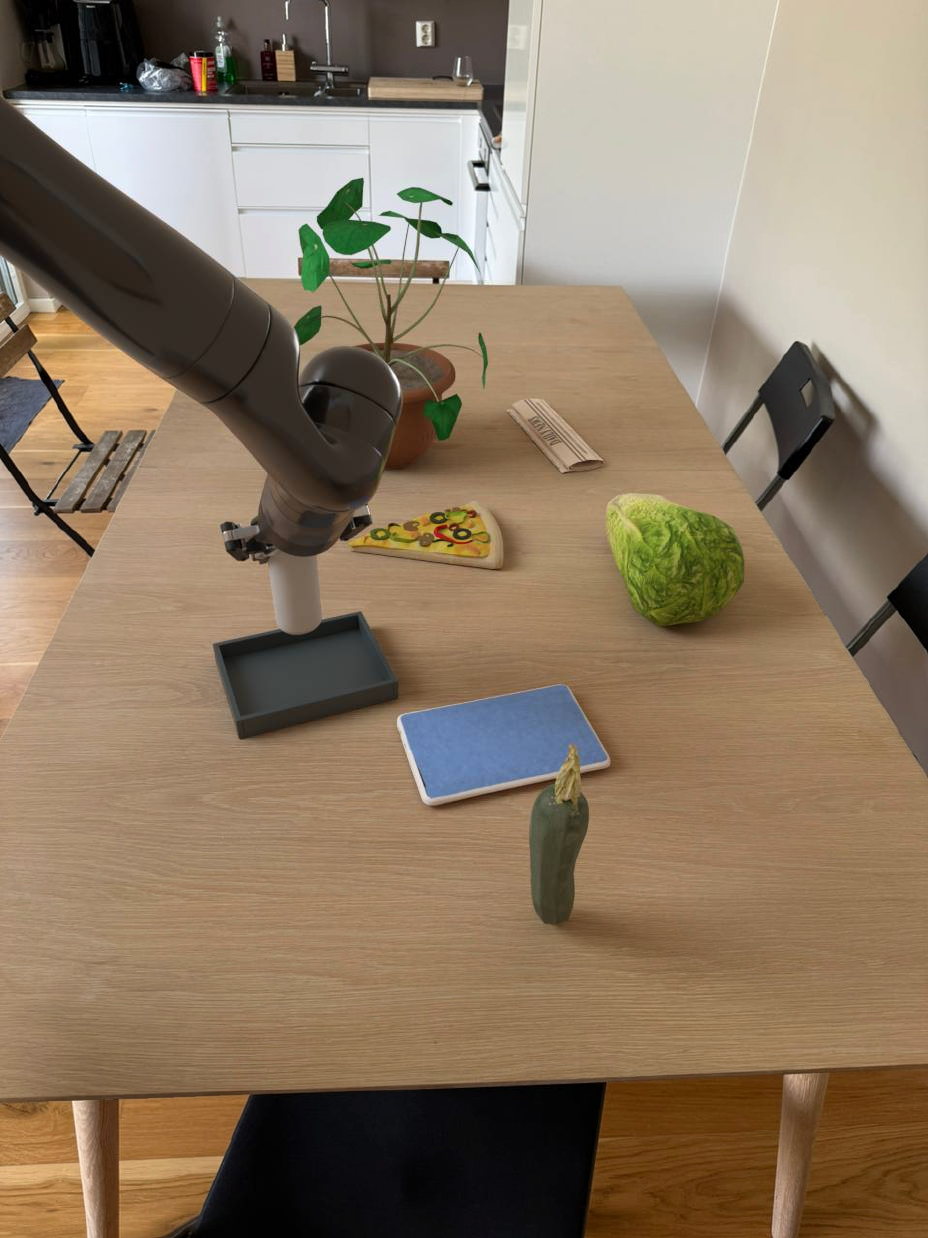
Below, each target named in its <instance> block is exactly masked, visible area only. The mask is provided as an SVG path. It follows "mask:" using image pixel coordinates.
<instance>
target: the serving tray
mask: <svg viewBox="0 0 928 1238" xmlns="http://www.w3.org/2000/svg"><path fill="white" fill-rule="evenodd" d="M212 649H213V653H214V659H215V663H216V667H217V670H218V674H219V676H220V680H221V684H222V686H223V690H224V694H225V697H226V700H227V705H228V708H229V711H230V714H231V717H232V721H233V724H234V727H235V730H236V734H237V737H238V739H239V740H241V739H244V738H249V737H252V736H257V735H260V734H264V733H268V732H272V731H276V730H279V729H284V728H288V727H291V726H295V725H299V724H303V723H307V722H312V721H315V720H319V719H323V718H326V717H330V716H335V715H338V714H342V713H347V712H350V711H354V710H358V709H362V708H367V707H369V706H373V705H378V704H381V703H386V702H389V701H393V700H397V699H399V698H400V697H399V696H400V695H399V680H398V679H397V678H398V677H397V676H396V674H395V673H394V670H393V669H392V667H391V665H390V663H389V661H388V659H387V657H386V655H385V652H383V650H382V647H381V646H380V644H379V641H378V639H377V638H376V636H375V634H374V632H373V630H372V629H371V627H370V625H369V622H368V621H367V619H366V617H365V616H364V613H363V612H362V611H361V610H359V611H355V612H351V613H346V614H341V615H336V616H332V617H328V618H324V619H323V618H322V621H321V623H320V624H319V626H318V627H317V628H315V629H314V630H313V631H311V632H308V633H305V634H301V635H292V634H288V633H285V632H284V631H282V630H281V629H280V628H278V629H273V630H268V631H264V632H260V633H255V634H250V635H246V636H241V637H236V638H232V639H228V640H223V641H219V642H213V643H212Z"/></svg>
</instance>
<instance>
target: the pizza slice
mask: <svg viewBox="0 0 928 1238" xmlns="http://www.w3.org/2000/svg"><path fill="white" fill-rule="evenodd" d="M347 544H348V546H349V549H350V552H358V553H366V554H374V555H381V556H389V557H396V558H402V559H409V560H410V559H411V560H418V561H426V562H427V561H428V562H434V563H435V562H437V563H443V564H450V565H459V566H467V567H475V568H481V569H482V568H483V569H490V570H499V569H501V568H502V567H503V564H504V540H503V536H502V532H501V529H500V526H499V524H498V522H497V520H496V519H495V517H494V516H493V515H492V513H491V512H490V511H489V510H488V509H487V508H486V507H485V505H484V504H482V503H481V502H480V501H477V500H471V501H470V502H468V503H466V504H465V505H460V506H455V507H451V508H446V509H444V510H441V511H437V512H436V511H435V512H430V513H427V514H424V515H421V516H417V517H416V518H413V519H409V520H407V521H405V522H402V523H399V524H398V523H395V522H390V523H388V525H387V526H385V527H377V528H376V527H375V528H373V529H371V530H370V531H369V533H367V534H364V535H362V536H361V537H358V538H355V539H354V540H351V541H349V542H348V543H347Z"/></svg>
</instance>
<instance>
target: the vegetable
mask: <svg viewBox="0 0 928 1238" xmlns="http://www.w3.org/2000/svg"><path fill="white" fill-rule="evenodd" d="M568 747H569V748H570V750H569V753H568V755H569V757H568V758H567V759H566V760H565V761H564V762H563V763H562V766H561V768H560V771H559V772H558V774H557V777H556V778H555V783H552V784H549V785H547V786H546V787H544V788H543V789H541V792H539V794H538V795H537V796H536V798H535V800H534V802H533V804H532V808H531V811H530V818H529V828H528V842H529V843H528V844H529V859H530V860H529V861H530V862H529V863H530V864H529V868H530V878H529V879H530V881H529V882H530V895H531V901H532V905H533V909H534V912H535V914H536V915H537V917H538V918H539V919H540V921H542V923H543V924H545V925H553V926H559V925H562V924H563V923H565V922H568V921H569V920H570V917H571V914H572V911H573V909H574V903H575V895H576V887H575V870H576V863H577V859H578V857H579V854H580V851H581V850H582V849H581V848H582V846H583V843H584V840H585V838H586V835H587V832H588V828H589V823H590V808H589V803H588V800H587V798H586V797H585V795H584V793H583V792H582V779H581V773H580V762H579V761H580V758H579V756H578V751H577V747H576V746H575V745H572V744H570V745H569V746H568Z"/></svg>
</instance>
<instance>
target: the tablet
mask: <svg viewBox="0 0 928 1238" xmlns="http://www.w3.org/2000/svg"><path fill="white" fill-rule="evenodd" d="M396 726H397V730H398V733H399V734H400V740H401V743H402V746H403V748H404V751H405V754H406V757H407V760H408V764H409V767H410V769H411V772H412V776H413V778H414V781H415V783H416V786H417V789H418V793H419V794H420V798H421V800H422V802H423V804H425V806H428V807H437V806H440V805H444V804H448V803H452V802H457V801H461V800H465V799H469V798H473V797H477V796H482V795H486V794H490V793H495V792H499V791H504V790H510V789H514V788H517V787H524V786H528V785H532V784H533V785H534V784H536V783H537V784H538V783H541V782H542V783H543V782H547V781H550V780H554V779H555V780H556V777H557V774H558V772H559V771H560V768H561V766H562V763H563V762H564V761H565V760H566V759H567V758H568V757H569V755H568V753H569V750H570V748H569V747H568V746H569V745H570V744H572V745H575V746H576V747H577V751H578V756H579V758H580V761H579V762H580V774H585V773H587V772H593V771H598V770H604V769H607V768H609V767H610V766H611V757H610V755H609V753H608V751H607V750H606V748H605V747H604V745H603V743H602V742H601V740H600V738H599V736H598V735H597V733H596V731H595V730H594V728H593V726H592V724H591V722H590V721H589V719H588V718H587V716H586V714H585V713H584V711H583V709H582V707H581V705H580V703H579V702H578V700H577V698H576V696H575V695H574V693H573V692H572V689H571V688H570V687H569V686H568V685H566V684H563V683H558V684H552V685H547V686H543V687H537V688H532V689H528V690H522V691H517V692H511V693H506V694H501V695H496V696H490V697H484V698H480V699H475V700H470V701H464V702H459V703H453V704H447V705H444V706H443V705H442V706H438V707H437V706H436V707H433V708H428V709H422V710H417V711H410V712H406V713H402V714H400V715H399V716H398V717H397V720H396Z"/></svg>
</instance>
